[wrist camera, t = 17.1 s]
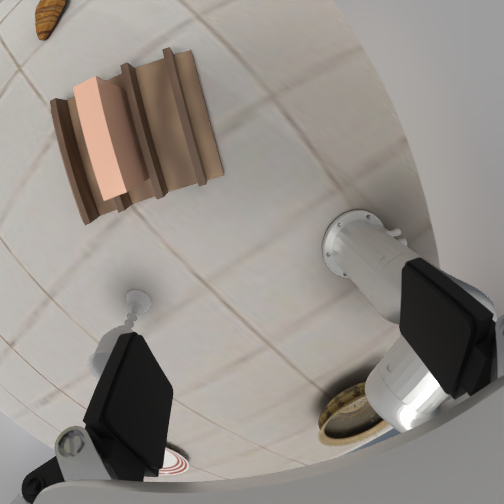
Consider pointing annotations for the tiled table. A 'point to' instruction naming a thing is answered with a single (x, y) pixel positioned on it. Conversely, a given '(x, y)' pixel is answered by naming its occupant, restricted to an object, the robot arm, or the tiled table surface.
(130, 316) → the chalice
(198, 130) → the slot rack
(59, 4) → the croissant
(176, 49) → the tiled table surface
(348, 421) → the ceramic bowl
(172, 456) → the dinner plate
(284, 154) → the tiled table surface
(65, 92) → the tiled table surface
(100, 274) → the tiled table surface
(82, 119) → the pink rectangular block
